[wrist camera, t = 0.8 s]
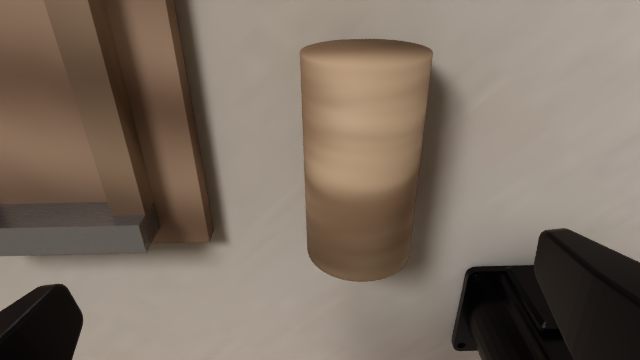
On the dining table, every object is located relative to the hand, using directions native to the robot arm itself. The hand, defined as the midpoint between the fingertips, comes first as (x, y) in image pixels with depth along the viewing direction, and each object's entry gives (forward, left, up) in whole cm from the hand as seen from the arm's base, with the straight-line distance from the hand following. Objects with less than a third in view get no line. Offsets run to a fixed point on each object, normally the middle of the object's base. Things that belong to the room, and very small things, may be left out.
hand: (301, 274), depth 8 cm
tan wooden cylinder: (-2, -2, -12) cm, 12 cm away
